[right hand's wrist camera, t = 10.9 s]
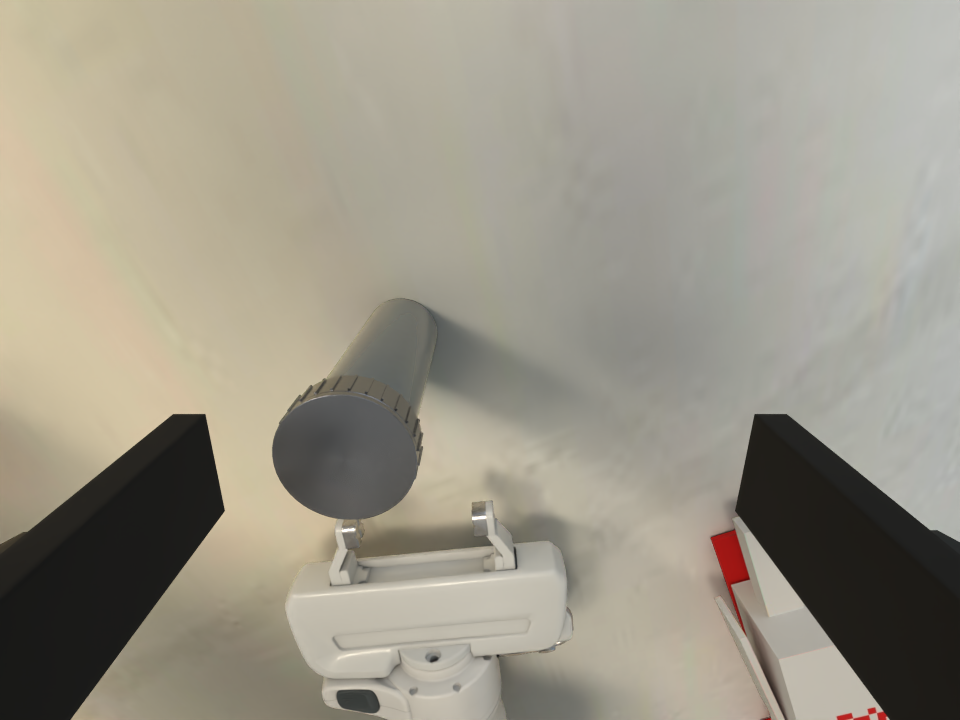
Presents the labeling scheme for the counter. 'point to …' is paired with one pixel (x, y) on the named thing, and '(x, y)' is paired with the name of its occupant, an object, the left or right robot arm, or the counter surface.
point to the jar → (394, 349)
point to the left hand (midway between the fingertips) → (414, 512)
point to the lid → (348, 447)
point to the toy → (785, 640)
